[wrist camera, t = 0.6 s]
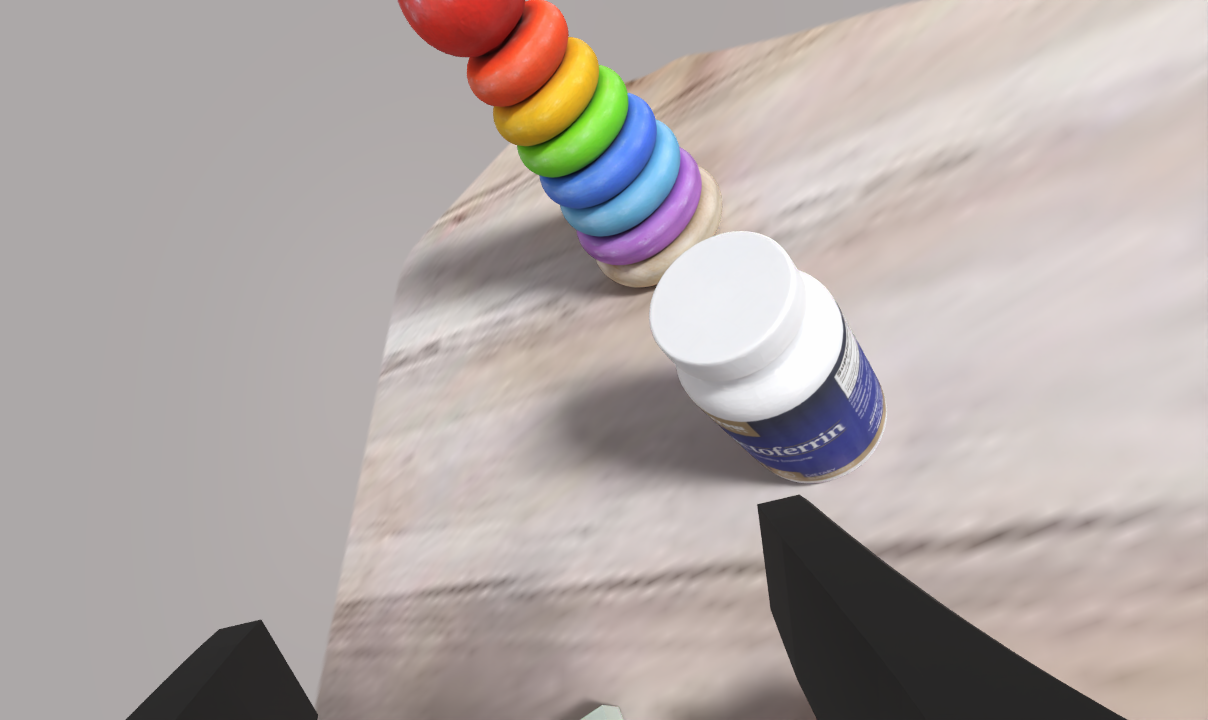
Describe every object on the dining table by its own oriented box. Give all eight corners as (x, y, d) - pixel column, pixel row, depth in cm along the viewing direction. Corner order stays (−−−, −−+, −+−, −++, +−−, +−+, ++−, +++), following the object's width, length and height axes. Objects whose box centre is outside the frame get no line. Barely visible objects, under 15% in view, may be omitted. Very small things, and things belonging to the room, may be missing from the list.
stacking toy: (748, 173, 34) (536, -193, 21) (698, 298, 32) (427, -22, 19) (635, 181, 40) (408, -109, 26) (586, 290, 38) (311, 33, 24)
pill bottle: (748, 491, 26) (622, 391, 19) (751, 368, 29) (641, 241, 22) (897, 483, 23) (813, 362, 16) (886, 347, 26) (809, 191, 19)
